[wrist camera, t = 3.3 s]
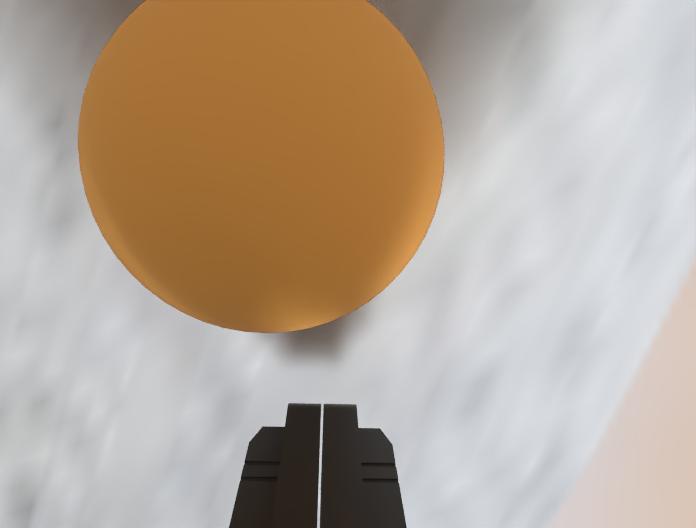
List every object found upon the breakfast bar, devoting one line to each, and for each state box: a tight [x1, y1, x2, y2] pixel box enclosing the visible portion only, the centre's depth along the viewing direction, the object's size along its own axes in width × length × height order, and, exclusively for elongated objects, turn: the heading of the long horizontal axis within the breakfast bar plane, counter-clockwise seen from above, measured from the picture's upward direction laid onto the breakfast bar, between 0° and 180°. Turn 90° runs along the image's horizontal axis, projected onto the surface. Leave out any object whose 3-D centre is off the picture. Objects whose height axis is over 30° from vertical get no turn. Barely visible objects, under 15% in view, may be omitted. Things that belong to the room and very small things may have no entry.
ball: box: [78, 0, 444, 333], centre depth 8 cm, size 6×6×6 cm
